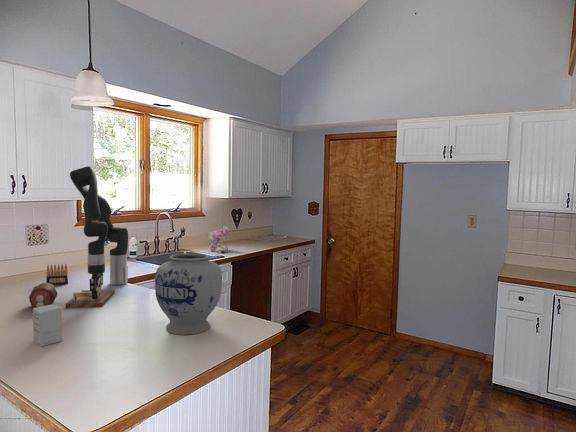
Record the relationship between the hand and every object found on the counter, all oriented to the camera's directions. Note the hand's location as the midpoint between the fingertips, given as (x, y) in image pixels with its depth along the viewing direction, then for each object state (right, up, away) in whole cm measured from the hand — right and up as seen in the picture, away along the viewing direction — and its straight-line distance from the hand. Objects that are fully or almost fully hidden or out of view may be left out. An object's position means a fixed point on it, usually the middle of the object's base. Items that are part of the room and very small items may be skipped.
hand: (96, 296), depth 191 cm
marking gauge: (-4, -1, -1) cm, 4 cm away
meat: (-22, -3, -6) cm, 23 cm away
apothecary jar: (+52, -7, -28) cm, 60 cm away
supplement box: (+5, -7, -47) cm, 47 cm away
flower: (+30, +7, +157) cm, 160 cm away
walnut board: (-5, -3, +5) cm, 8 cm away
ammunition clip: (-39, 0, +33) cm, 51 cm away
